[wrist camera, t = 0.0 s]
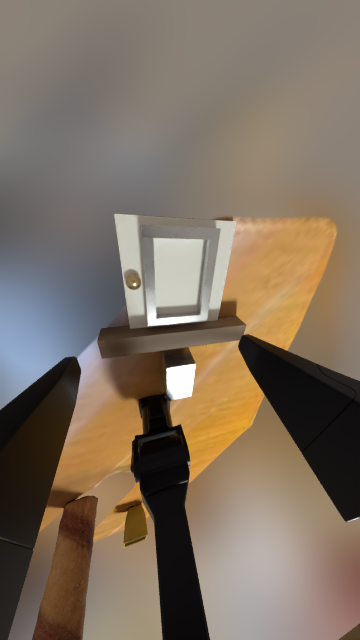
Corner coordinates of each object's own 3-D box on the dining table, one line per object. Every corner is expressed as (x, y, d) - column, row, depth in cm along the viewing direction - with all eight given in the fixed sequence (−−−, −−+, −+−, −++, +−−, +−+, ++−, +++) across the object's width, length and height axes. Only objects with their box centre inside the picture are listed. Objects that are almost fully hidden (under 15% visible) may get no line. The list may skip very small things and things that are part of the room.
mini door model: (215, 317, 27) (220, 324, 26) (130, 325, 24) (129, 333, 22) (233, 221, 20) (242, 221, 18) (114, 213, 17) (112, 213, 15)
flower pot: (144, 507, 72) (146, 540, 65) (124, 513, 70) (123, 548, 62) (146, 500, 68) (147, 534, 61) (124, 507, 65) (123, 544, 58)
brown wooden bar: (232, 330, 30) (241, 339, 27) (105, 344, 25) (102, 358, 22) (236, 315, 28) (246, 324, 26) (100, 328, 23) (97, 341, 20)
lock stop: (184, 374, 33) (191, 396, 29) (162, 377, 32) (166, 401, 28) (186, 343, 29) (195, 363, 25) (161, 346, 28) (167, 368, 24)
